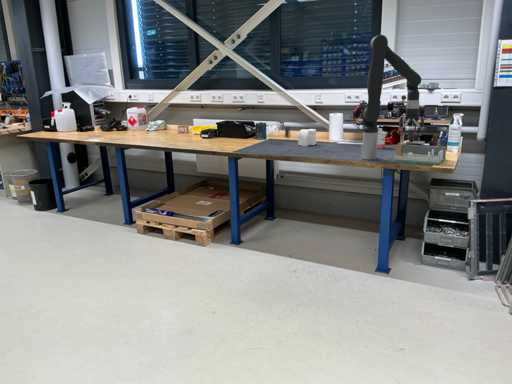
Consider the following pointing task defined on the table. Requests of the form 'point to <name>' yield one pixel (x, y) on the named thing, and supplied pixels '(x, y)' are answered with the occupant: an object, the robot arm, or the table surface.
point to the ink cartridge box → (381, 139)
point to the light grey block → (307, 137)
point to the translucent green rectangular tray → (422, 154)
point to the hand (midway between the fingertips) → (411, 133)
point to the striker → (410, 140)
